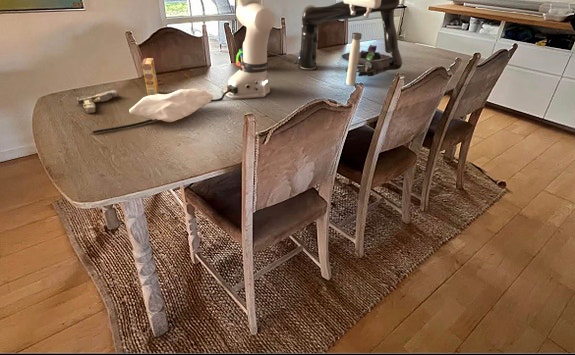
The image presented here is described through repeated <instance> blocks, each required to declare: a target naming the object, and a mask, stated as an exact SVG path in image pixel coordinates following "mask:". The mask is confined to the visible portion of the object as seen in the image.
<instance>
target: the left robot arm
mask: <svg viewBox="0 0 575 355" xmlns="http://www.w3.org/2000/svg"><path fill="white" fill-rule="evenodd" d="M342 1H343V2H344V3H345V4H350V10H351V15H355V12H356V11H354V7H355V5H357V6H362V7H367V12H366V14H364V15H363V18H364V19H369V17H370V14H371V13H370V12H371V10H372V8H374V9H376V8H379V7H380V5H381V0H342ZM235 15H236V18H237V20H238V22H239V23H240V24H241V25H242V26H244V27H246V33H245V38H244V41H243V42H242V48H243V61H242V62H241V61H240V60H239V61H237V62H236V61H235V65H236V66H237V67H239V69H237V71H236V72H235V73H234V74H232V75H231V76H230V77H229V78H228V81H227V85H226V87H224V88H223V91H222V92H223V94H222V96H221V97H220V98H216V99H212V100H211V101H210V102H219V101H223V99H224V98H225V96H226V97H228V98H230V99H233V100H236V99H237V100H238V99H239V100H240V99H253V98H254V99H255V98H264V97H266V95H268V94H269V93H270V92H271V88H270V84H269V78H268V76H269V75H268V72H269V61H268V52H267V51H268V43H269V37H270V33H271V30H272V29H273V28H274V26H275V21H276V17H275V14H274V12H273V11H272V10H271V9H270V8H269V7H268V6H266V5H264V4H263V3H262V0H237V6H236V9H235ZM157 120H158V119H155V120H152V119H146V120H143V121H139V122H135V123H130V124H125V125H120V126H114V127H110V128H100V129H96V130H95V129H94V130H92V133H93V134H98V133H104V132H109V131H115V130H121V129H126V128H131V127H135V126H136V127H137V126H140V125H143V124H147V123H148V124H149V123H151V122H154V121H157ZM158 121H159V120H158Z"/></svg>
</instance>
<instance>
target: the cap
mask: <svg viewBox="0 0 575 355" xmlns="http://www.w3.org/2000/svg"><path fill="white" fill-rule="evenodd" d="M362 36H363V33H361V32H352V34H351V39H352V40H353V39H354V40H362Z"/></svg>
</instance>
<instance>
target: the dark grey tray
mask: <svg viewBox="0 0 575 355" xmlns="http://www.w3.org/2000/svg"><path fill="white" fill-rule="evenodd" d="M377 48H378V46H377V45H374V44H369V46H368V48H367V50H360V52H359V59H358V65H359V64H360V65H364V63H366V62H368V61H373V60H380V59H384V58H389V57H390V55H386V54H383V53H380V51H378V52H377ZM349 55H350V52H347V53H343V54H342V55H341V58H343V60H346V61H348V62H349Z"/></svg>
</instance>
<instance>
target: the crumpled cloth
mask: <svg viewBox="0 0 575 355" xmlns="http://www.w3.org/2000/svg"><path fill="white" fill-rule="evenodd" d="M213 97H214V96H213V94H212V93H210V92H208V91H206V90H203V89H201V88H187V89H186V88H185V89H184V88H183V89H177V90H175V91H173V92H171V93H167V94H163V93H158V94H156V95H150V96H148V95H146V96H144V97H142V98H141V99H140V100H139V101H138V102H137V103H136V104H134V105H133V106H132V107H131V108H129V114H130V115H135V116H140V117H145V118H146V119H148V120H150V119H152V120H155V119H158V121H163V122H166V123H174V122H176V121H178V120H181V119H183V118H185V117H188V116H190V115H192V114H193V113H195V112H196V111H197V110H199V109H200V108H202V107H204V106H206V105H207V104H210V102H212V101H211V100H213V99H214V98H213ZM155 121H156V120H155Z"/></svg>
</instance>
